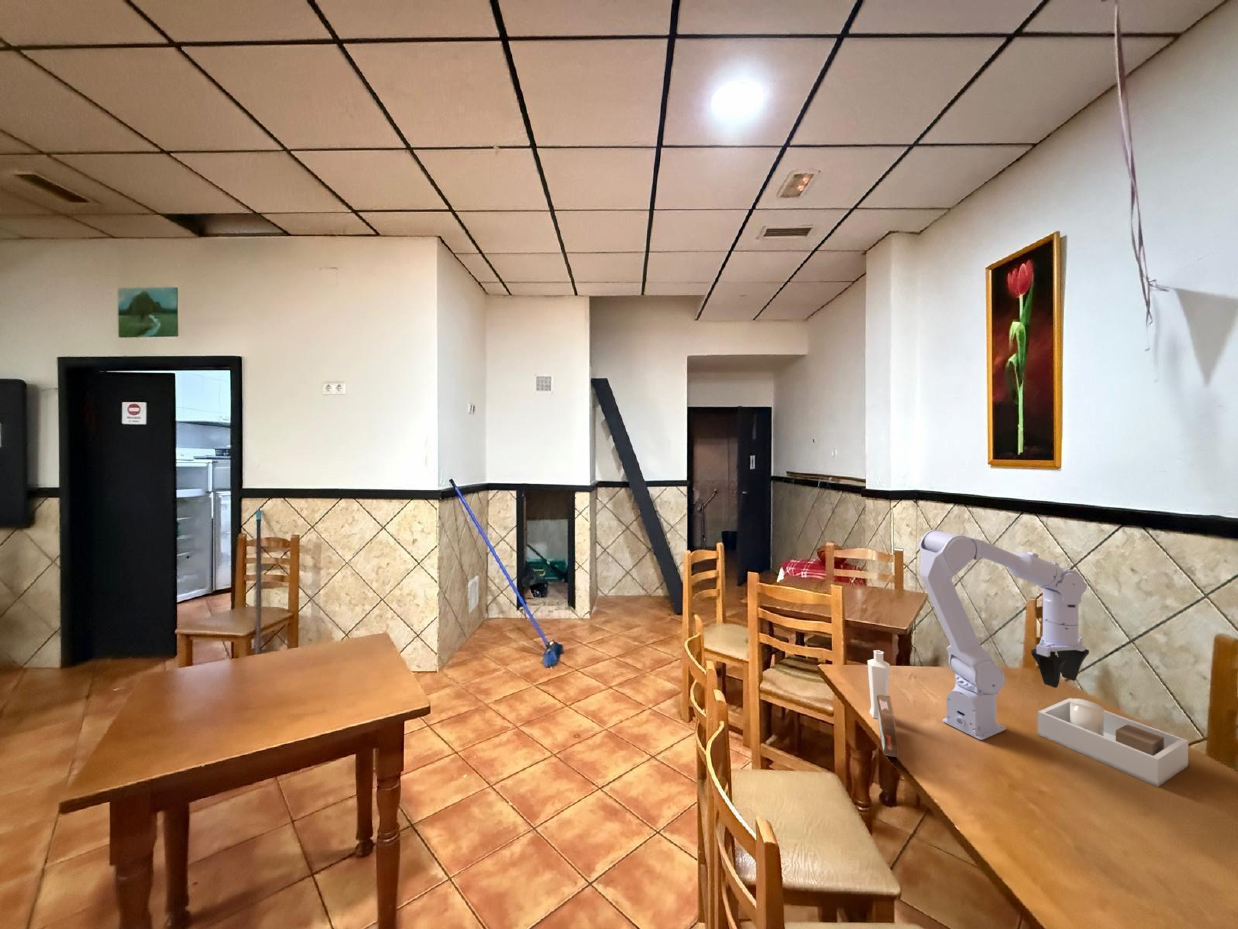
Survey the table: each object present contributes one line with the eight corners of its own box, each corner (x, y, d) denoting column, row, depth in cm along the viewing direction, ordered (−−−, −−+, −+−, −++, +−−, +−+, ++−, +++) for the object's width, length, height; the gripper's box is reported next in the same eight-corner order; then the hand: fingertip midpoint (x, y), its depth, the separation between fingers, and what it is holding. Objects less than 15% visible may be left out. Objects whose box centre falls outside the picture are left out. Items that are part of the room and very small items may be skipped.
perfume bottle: (870, 708, 111) (870, 646, 111) (891, 715, 108) (891, 651, 108) (864, 715, 108) (864, 651, 108) (885, 723, 105) (885, 657, 105)
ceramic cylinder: (1092, 746, 95) (1092, 712, 95) (1063, 732, 100) (1063, 700, 100) (1110, 742, 96) (1110, 709, 96) (1081, 729, 101) (1081, 697, 101)
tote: (1157, 787, 84) (1157, 759, 84) (1037, 734, 100) (1037, 711, 100) (1188, 766, 89) (1188, 740, 89) (1070, 719, 105) (1070, 697, 105)
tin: (899, 767, 90) (899, 724, 90) (881, 763, 91) (881, 721, 91) (891, 726, 104) (891, 689, 103) (875, 723, 105) (875, 686, 105)
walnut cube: (1152, 770, 87) (1152, 744, 87) (1115, 755, 92) (1115, 730, 92) (1163, 763, 89) (1164, 737, 89) (1127, 748, 94) (1127, 724, 94)
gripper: (1066, 632, 96) (1065, 697, 96) (1100, 622, 101) (1100, 683, 102) (1025, 621, 102) (1024, 682, 102) (1060, 612, 108) (1059, 670, 108)
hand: (1059, 682), depth 102 cm, fingers open, 7 cm apart
